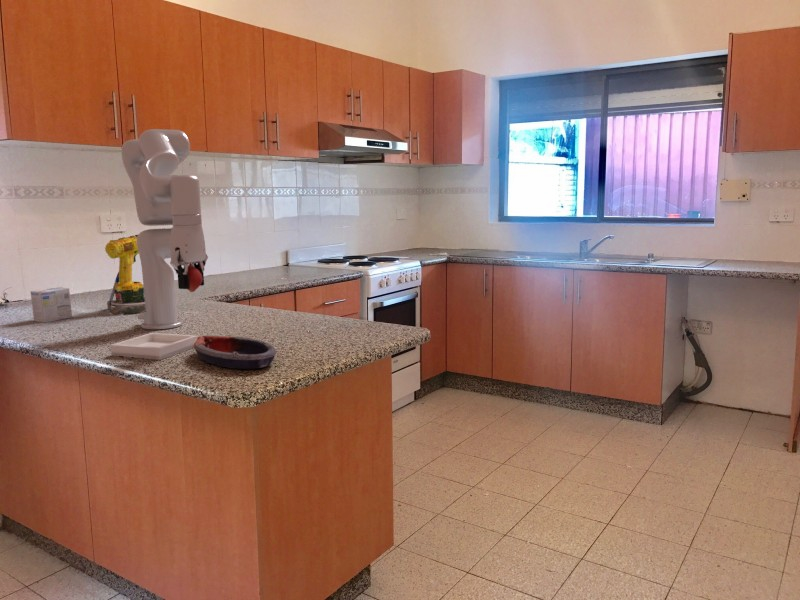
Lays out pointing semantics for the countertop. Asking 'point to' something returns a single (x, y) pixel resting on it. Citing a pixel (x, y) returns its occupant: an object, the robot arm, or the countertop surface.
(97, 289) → the countertop surface
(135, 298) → the cordless drill
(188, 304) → the countertop surface
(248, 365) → the dish
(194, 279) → the onion
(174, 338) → the tray
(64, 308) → the light bulb box
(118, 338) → the countertop surface
